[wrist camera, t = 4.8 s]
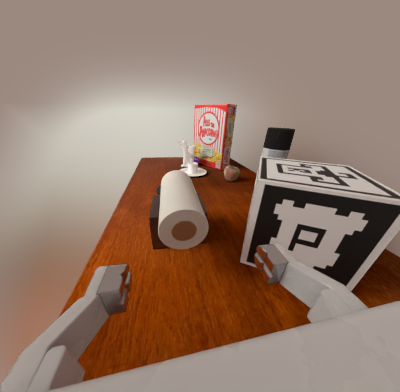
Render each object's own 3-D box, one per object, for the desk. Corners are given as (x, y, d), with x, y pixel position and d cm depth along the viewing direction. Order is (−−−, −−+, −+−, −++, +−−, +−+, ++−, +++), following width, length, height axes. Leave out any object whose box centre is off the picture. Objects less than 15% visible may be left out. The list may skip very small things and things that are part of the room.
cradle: (153, 249, 28) (148, 217, 25) (155, 223, 35) (152, 195, 32) (206, 242, 30) (208, 212, 27) (198, 219, 37) (199, 193, 34)
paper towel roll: (159, 252, 20) (156, 210, 17) (161, 198, 33) (160, 169, 31) (206, 248, 22) (211, 208, 19) (190, 197, 35) (192, 170, 32)
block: (248, 216, 39) (260, 156, 32) (317, 231, 34) (349, 165, 28) (239, 262, 26) (257, 179, 20) (347, 296, 22) (419, 204, 15)
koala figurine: (179, 168, 73) (178, 141, 68) (178, 164, 79) (178, 139, 74) (196, 167, 75) (197, 141, 69) (195, 164, 80) (195, 139, 75)
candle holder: (207, 178, 62) (208, 167, 60) (178, 177, 62) (177, 167, 60) (205, 169, 73) (206, 160, 71) (180, 168, 73) (180, 159, 71)
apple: (217, 178, 63) (218, 164, 60) (234, 176, 65) (236, 163, 62) (223, 183, 58) (224, 168, 55) (242, 182, 60) (244, 167, 57)
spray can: (261, 190, 53) (276, 127, 44) (279, 198, 48) (300, 129, 39) (248, 194, 50) (261, 127, 41) (266, 203, 45) (286, 129, 36)
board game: (193, 161, 85) (194, 104, 73) (201, 160, 89) (204, 105, 76) (220, 171, 71) (227, 103, 59) (229, 168, 75) (237, 104, 63)
